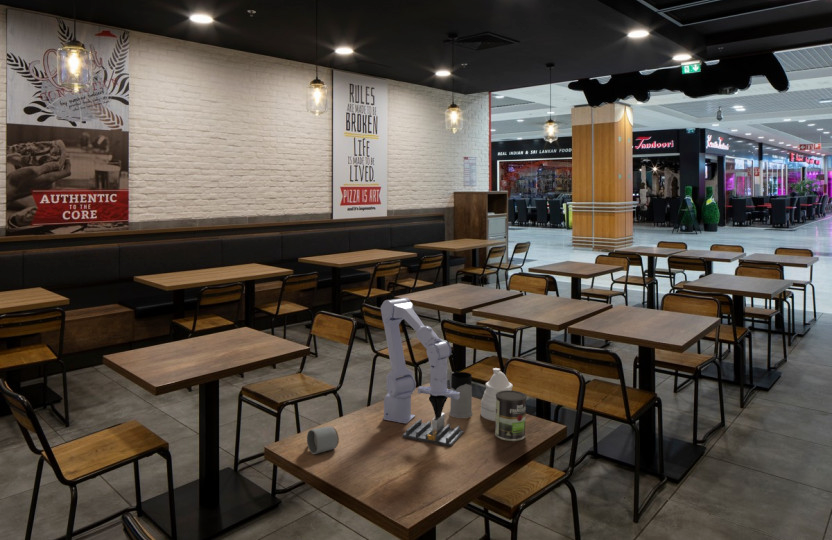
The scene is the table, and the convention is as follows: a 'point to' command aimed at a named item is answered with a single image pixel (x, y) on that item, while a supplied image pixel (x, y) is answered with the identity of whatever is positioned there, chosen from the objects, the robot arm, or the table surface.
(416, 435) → the rack
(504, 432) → the coffee can
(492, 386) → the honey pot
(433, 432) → the panel
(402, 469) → the table surface
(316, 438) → the ceramic mug
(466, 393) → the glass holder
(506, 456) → the table surface
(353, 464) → the table surface
